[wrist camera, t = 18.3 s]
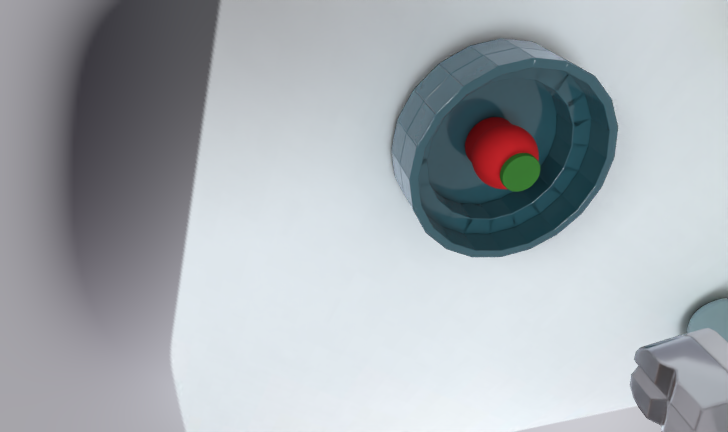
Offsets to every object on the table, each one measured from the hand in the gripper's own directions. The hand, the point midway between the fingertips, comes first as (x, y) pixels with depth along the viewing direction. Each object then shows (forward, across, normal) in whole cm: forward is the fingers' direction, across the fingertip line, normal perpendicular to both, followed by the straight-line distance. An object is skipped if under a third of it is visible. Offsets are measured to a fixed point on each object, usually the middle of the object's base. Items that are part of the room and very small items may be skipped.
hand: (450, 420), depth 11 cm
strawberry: (+26, -12, +9) cm, 30 cm away
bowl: (+27, -12, +9) cm, 31 cm away
